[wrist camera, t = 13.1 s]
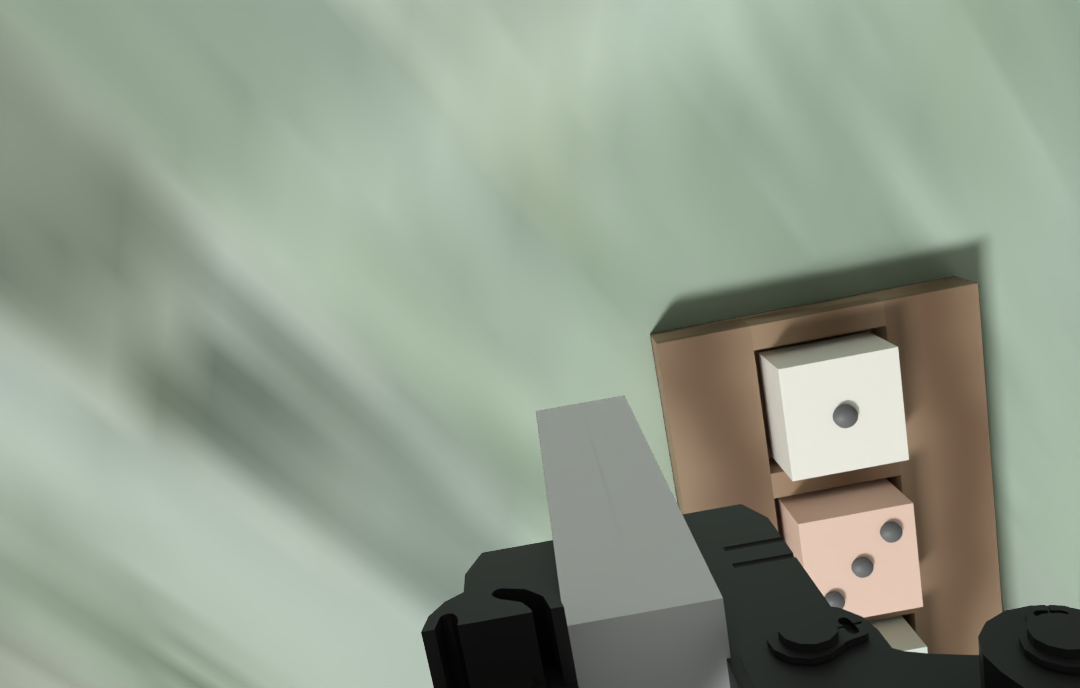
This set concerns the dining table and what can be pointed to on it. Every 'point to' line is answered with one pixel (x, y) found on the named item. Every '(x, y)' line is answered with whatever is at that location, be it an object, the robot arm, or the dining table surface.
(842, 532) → the tile three
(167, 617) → the dining table surface
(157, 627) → the dining table surface
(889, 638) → the tile two
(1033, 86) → the dining table surface
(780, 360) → the tile one
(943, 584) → the board
